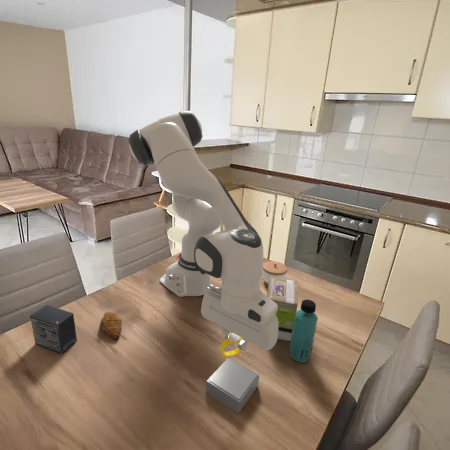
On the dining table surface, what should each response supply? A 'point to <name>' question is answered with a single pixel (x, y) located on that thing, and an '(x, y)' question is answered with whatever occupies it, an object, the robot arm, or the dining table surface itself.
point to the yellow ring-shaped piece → (231, 339)
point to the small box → (54, 328)
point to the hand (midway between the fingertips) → (235, 344)
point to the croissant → (111, 324)
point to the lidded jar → (273, 270)
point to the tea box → (284, 304)
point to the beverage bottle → (303, 331)
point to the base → (232, 384)
